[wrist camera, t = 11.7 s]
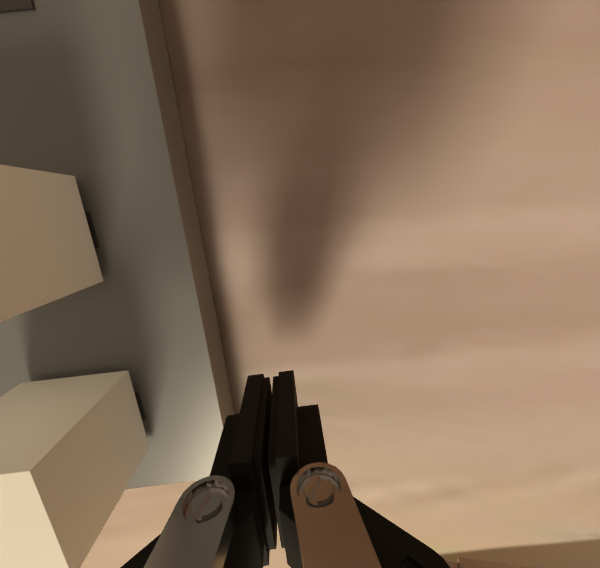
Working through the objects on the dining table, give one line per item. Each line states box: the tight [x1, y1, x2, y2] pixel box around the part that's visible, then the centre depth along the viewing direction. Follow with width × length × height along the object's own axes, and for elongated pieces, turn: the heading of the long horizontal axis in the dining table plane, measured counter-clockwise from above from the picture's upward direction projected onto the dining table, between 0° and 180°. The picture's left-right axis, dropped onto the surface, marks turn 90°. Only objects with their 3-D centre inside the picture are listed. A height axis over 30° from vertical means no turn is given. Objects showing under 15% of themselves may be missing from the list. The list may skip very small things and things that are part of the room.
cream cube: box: [0, 370, 149, 568], centre depth 10 cm, size 4×4×4 cm
